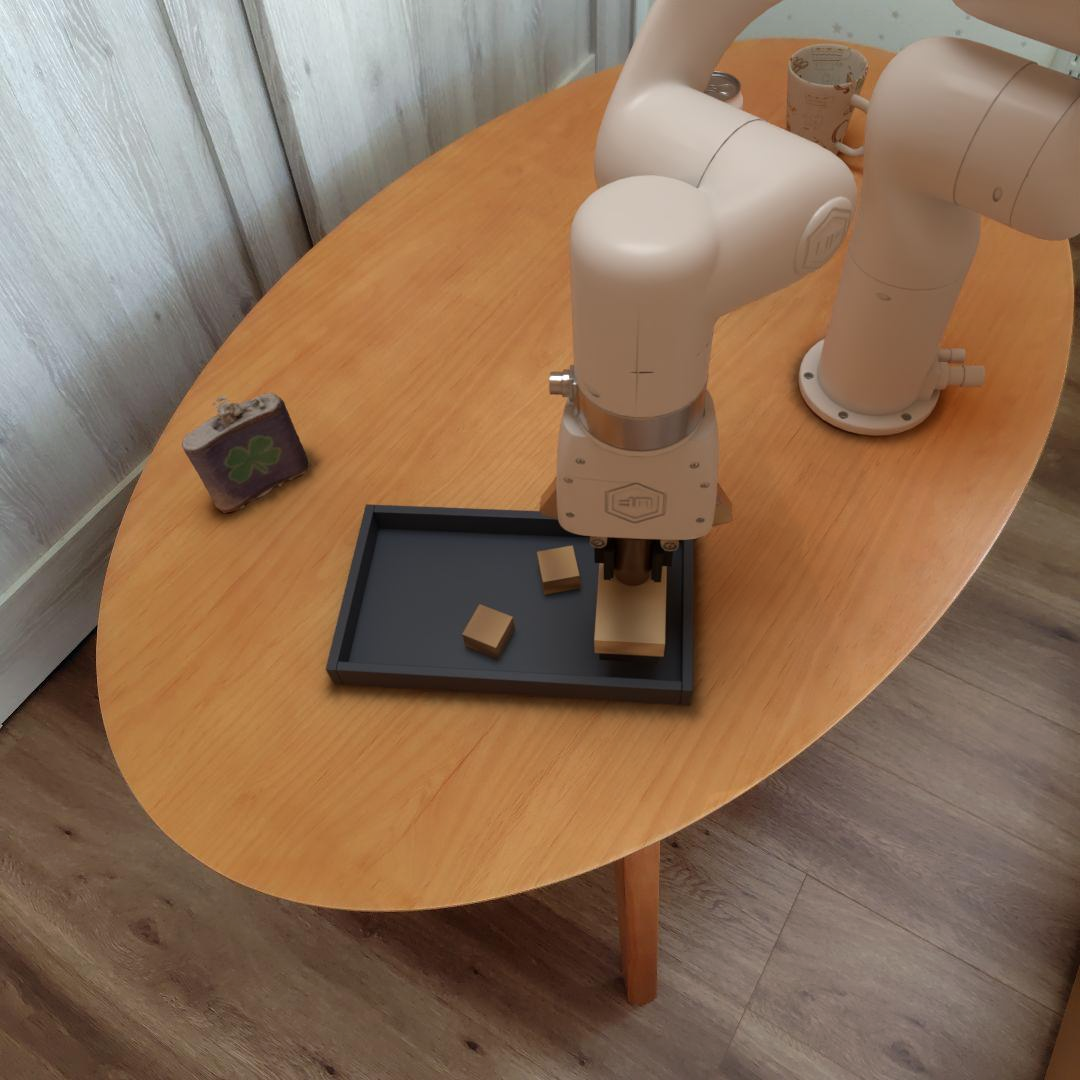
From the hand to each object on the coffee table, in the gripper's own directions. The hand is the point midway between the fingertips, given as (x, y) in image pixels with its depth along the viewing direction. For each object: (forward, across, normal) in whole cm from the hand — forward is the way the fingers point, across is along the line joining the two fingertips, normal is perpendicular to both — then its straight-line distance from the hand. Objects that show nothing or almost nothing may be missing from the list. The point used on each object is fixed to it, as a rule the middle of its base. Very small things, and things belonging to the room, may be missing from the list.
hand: (633, 563), depth 69 cm
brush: (+4, 0, 0) cm, 4 cm away
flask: (+8, -34, +12) cm, 37 cm away
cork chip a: (+7, -6, +3) cm, 10 cm away
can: (+8, +6, +56) cm, 57 cm away
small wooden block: (+7, -11, -3) cm, 14 cm away
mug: (+8, +20, +62) cm, 66 cm away
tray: (+8, -9, 0) cm, 12 cm away
